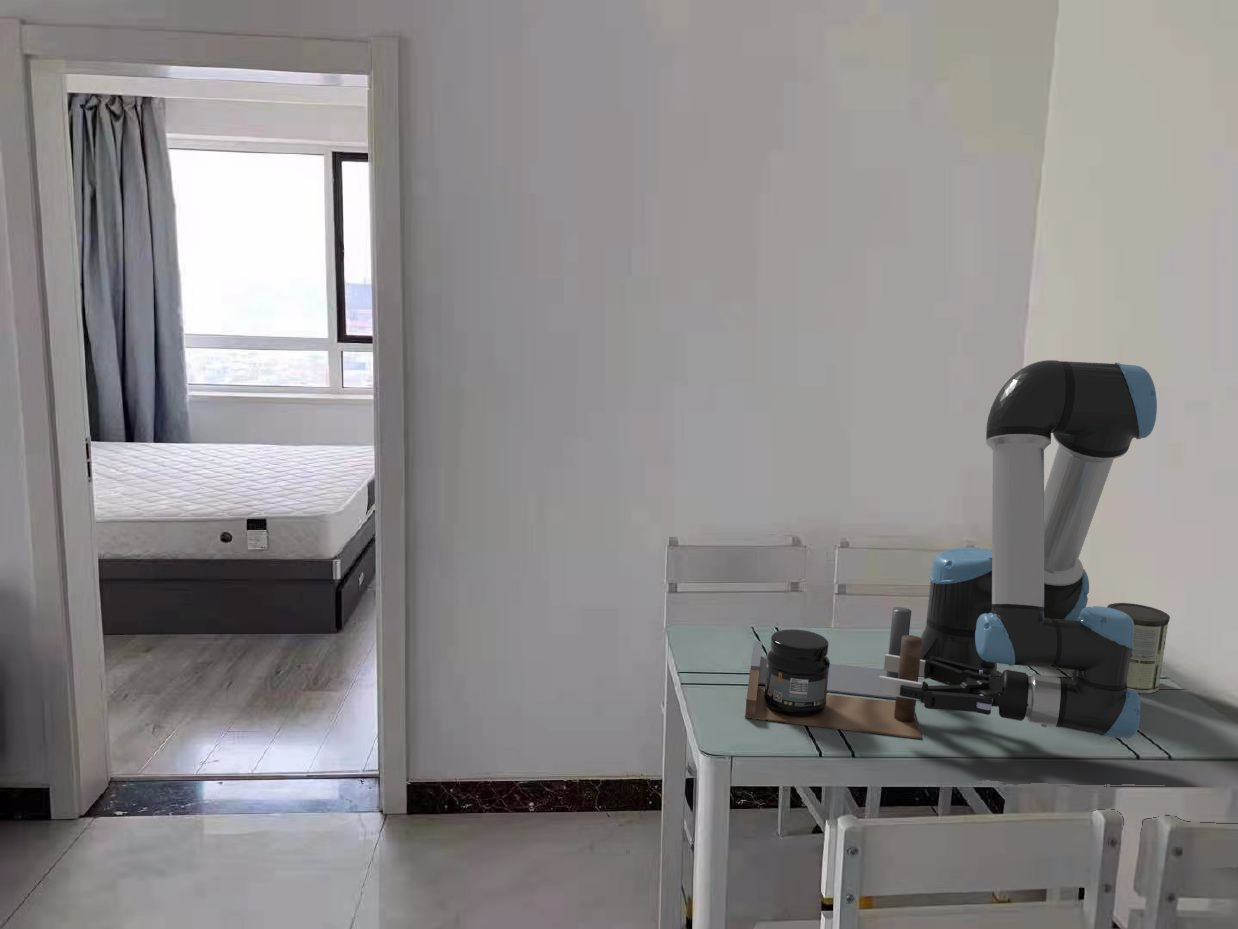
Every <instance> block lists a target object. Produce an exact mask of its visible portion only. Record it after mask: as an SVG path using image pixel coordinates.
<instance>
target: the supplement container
mask: <svg viewBox="0 0 1238 929" xmlns="http://www.w3.org/2000/svg"><path fill="white" fill-rule="evenodd" d="M829 645H830V644H829V641H828V639H827V637H824V636H823V635H821V634H818V633H817V632H813V631H809V630H803V629H793V628H792V629H782V630H778V631H775V632H774V633H772V634H771V636H770V647H769V648H770V649H769V651H768V652H767V654H766V657H767V669H766V683H765V686H764V687H765V692H764V699H765V702H766V704H767V705H768V706H769V707H770V708H771V709H773V710H775V711H776V712H779V713H781V714H784V715H788V716H794V717H809V716H814V715H817V714H819V713H821V712H822V711H823V710H824V709H825V707H826V702H827V700H826V696H827V694H828V692H827V685H828V673H829V667H830V664H831V661H830V658H829V656H828V654H829Z"/></svg>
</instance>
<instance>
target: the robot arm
mask: <svg viewBox="0 0 1238 929" xmlns="http://www.w3.org/2000/svg"><path fill="white" fill-rule="evenodd" d="M1157 410H1158V400H1157V392H1156V387H1155V383H1154V380H1153V378H1152V376H1151V375H1150V373H1149V371H1147V369H1146V368H1144V367H1143V366H1140V365H1136V364H1135V365H1134V364H1125V363H1123V364H1122V363H1119V362H1114V363H1109V362H1108V363H1106V362H1089V361H1088V362H1085V361H1061V360H1060V361H1059V360H1054V359H1051V360H1049V359H1047V360H1041V361H1037V362H1033V363H1031V364H1028V365H1026V366H1025V367H1023V368H1020V369H1019V370H1018V371H1017V372H1015V373H1014V374H1013V375H1012V376H1011V377H1010V378H1009V379H1008V380H1007V381H1006V382H1005V383H1004V384H1003V386H1002V387H1001V388H1000V390H999V392H998V393H997V395H996V397H995V398H994V400H993V403H992V405H991V407H990V410H989V412H988V417H987V421H986V428H985V429H986V431H985V432H986V435H985V437H986V439H985V440H986V445H987V446H988V447H989V448H990V449H991V450H992V510H991V511H992V519H991V522H992V523H991V524H992V526H991V527H992V528H991V529H992V531H991V534H992V535H991V536H992V537H991V541H992V544H991V548H992V549H989V548H988V549H987V548H980V547H956V548H950V549H946V550H944V551H941V552H939V553H938V554H936V555H935V557H934V559H933V562H932V566H931V572H930V576H929V581H930V584H929V593H928V601H927V602H928V603H927V611H926V612H927V613H926V622H925V627H924V629H923V632H922V634H921V636H920V638H921V639H922V647H921V657H920V666H919V676H918V677H920V678H923V679H924V680H926V679H929V678H932V679H934V680H938V681H942V682H944V683H947V684H948V685H947V684H946V685H945V684H944V685H942V684H940V685H929V684H928V683H927V682H926V681H922V682H920V681H918V682H915V681H909V680H903V679H897V678H891V677H886V676H880V677H879V686H878V693H880V694H886V695H892V696H897V697H903V698H909V699H914V700H916V701H920V703H923V704H924V706H923V707H924V708H925V709H929V710H941V711H942V710H943V711H953V712H954V711H957V712H958V711H959V712H969V713H977V714H983V715H985V716H986V715H991V713H992V707H998V715H999V716H1000V717H1001V718H1003V719H1008V720H1014V721H1020V722H1022V721H1024V720H1025V718H1027V722H1028V723H1033V724H1039V725H1041V727H1043V728H1047V727H1048V726H1049V727H1056V728H1060V729H1061V728H1062V729H1066V730H1072V731H1077V732H1082V733H1087V734H1092V735H1098V736H1099V737H1100V736H1101V737H1110V738H1117V739H1131V738H1133V737H1135V735H1136V734H1137V733H1138V731H1139V727H1140V726H1139V725H1140V722H1141V721H1140V720H1141V708H1142V707H1141V698H1140V695H1139V693H1137V692H1136V691H1134V690H1130V689H1129V688H1127V676H1128V670H1129V664H1130V659H1131V654H1132V648H1133V637H1134V622H1133V620H1132V618H1131V617H1130V616H1128V615H1127V614H1126V613H1124V612H1122V611H1119V610H1116V609H1112V608H1107V606H1101V605H1100V606H1098V605H1097V606H1094V605H1093V606H1087V605H1088V600H1089V598H1088V594H1089V593H1090V579H1089V576H1088V573H1087V572H1086V569H1084V565H1083V563H1082V562H1081V560H1080V559H1079V557H1080V555H1081V552H1082V549H1083V547H1084V544H1085V541H1086V538H1087V535H1088V532H1089V529H1090V527H1091V525H1092V521H1093V519H1094V515H1095V513H1096V510H1097V507H1098V505H1099V502H1100V499H1101V496H1102V493H1103V490H1104V487H1105V485H1106V482H1107V479H1108V477H1109V474H1110V471H1111V468H1112V465H1113V463H1114V460H1115V459H1117V458H1121V457H1123V456H1124V455H1125V454H1127V452H1129V448H1130V445H1131V443H1132V440H1133V439H1136V440H1141V439H1145V438H1147V437H1148V436H1150V435H1151V434H1152V432H1153V430H1154V427H1155V426H1156V421H1157V413H1158V412H1157ZM1052 435H1053V438H1054V440H1055V441H1056V443H1058V447H1057V450H1056V452H1055V456H1054V459H1053V463H1052V466H1051V468H1050V472H1049V475H1048V479H1047V481H1046V485H1045V450H1046V448H1048V446H1050V445H1051V444H1052ZM899 661H900V656H896V655H889V653H885V655H884V663H883V664H884V665H883V669H884V670H885V671H891V672H897V673H898V672H899ZM998 664H1001V665H1008V666H1009V667H1012V666H1013V667H1014V666H1025V667H1039V668H1050V669H1058V670H1059V669H1062V670H1070V671H1072V675H1071V677H1072V679H1065V678H1062V677H1061V678H1060V677H1055V676H1049V675H1044V674H1037V673H1032V675H1031V676H1029V674H1027V672H1023V671H1015V670H1011V669H1005V670H1003V672H1002V674H1001V678H997V670H998Z"/></svg>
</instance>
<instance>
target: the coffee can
mask: <svg viewBox="0 0 1238 929" xmlns="http://www.w3.org/2000/svg"><path fill="white" fill-rule="evenodd" d="M1106 607H1107V608H1112V609H1116V610H1119V611H1122V612H1124V613H1126V614H1127V615H1128V616H1130V617H1131V618H1132V620H1133V622H1134V637H1133V648H1132V654H1131V659H1130V664H1129V670H1128V676H1127V688H1129V689H1130V690H1134V691H1136V692H1137V693H1138V694H1152V692H1154V693H1156V691H1157V692H1158V691H1159V690H1160V683H1161V675H1162V674H1161V673H1162V667H1163V662H1164V655H1165V654H1164V653H1165V646H1166V641H1167V640H1166V639H1167V634H1168V628H1169V622H1170V619H1171V616H1170V615H1169V614H1168V613H1166V612H1165V611H1163V610H1161V609H1158V608H1156V607H1155V608H1154V607H1153V606H1152V607H1151V606H1148V605H1143V604H1137V603H1130V602H1117V603H1116V602H1115V603H1110V604H1108V605H1107V606H1106Z"/></svg>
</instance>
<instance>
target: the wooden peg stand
mask: <svg viewBox="0 0 1238 929" xmlns="http://www.w3.org/2000/svg"><path fill="white" fill-rule="evenodd" d="M921 647H922V639H921V636H920V637H919V636H916V635H913V634H911V635H910V634H909V635H904V636H902V641H901V651H900V661H899V672H898V679H903V680H909V681H915V682H919V677H920V676H919V666H920V657H921ZM758 682H759V671H757V670H749V676H748V684H747V692H746V700H745V701H746V702H745V716H744V718H745V719H748V718H752V719H751V720H756V719H759V720H758V721H765V720H768V721H767V722H773V721H775V722H776V723H782V722H785V723H784V724H790V723H791V724H792V725H799V724H803V725H802V726H806V727H807V726H809V727H818V728H824V729H825V728H826V729H832V730H833V729H834V730H842V731H850V732H851V731H852V732H860V733H867V734H876V735H882V736H884V735H886V736H891V737H892V736H893V737H900V738H901V737H902V738H911V739H919V740H922V735H921V730H920V727H919V724H918V720H917V718H916V706H917V704H916V703H917V700H914V699H909V698H903V697H897V696H896V699H895V701H890V700H889V701H888V700H880V699H872V698H863V697H856V696H854V697H853V696H845V695H836V694H828V693H827V696H826V700H827V702H826V707H825V709H824V710H823V711H822V712H821V713H819V714H817V715H814V716H809V717H794V716H788V715H784V714H781V713H779V712H776V711H775V710H773V709H771V708H770V707H769V706H768V705H767V704H766V702H765V699H764V692H765V686H759V684H758ZM775 722H774V723H775Z"/></svg>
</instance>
